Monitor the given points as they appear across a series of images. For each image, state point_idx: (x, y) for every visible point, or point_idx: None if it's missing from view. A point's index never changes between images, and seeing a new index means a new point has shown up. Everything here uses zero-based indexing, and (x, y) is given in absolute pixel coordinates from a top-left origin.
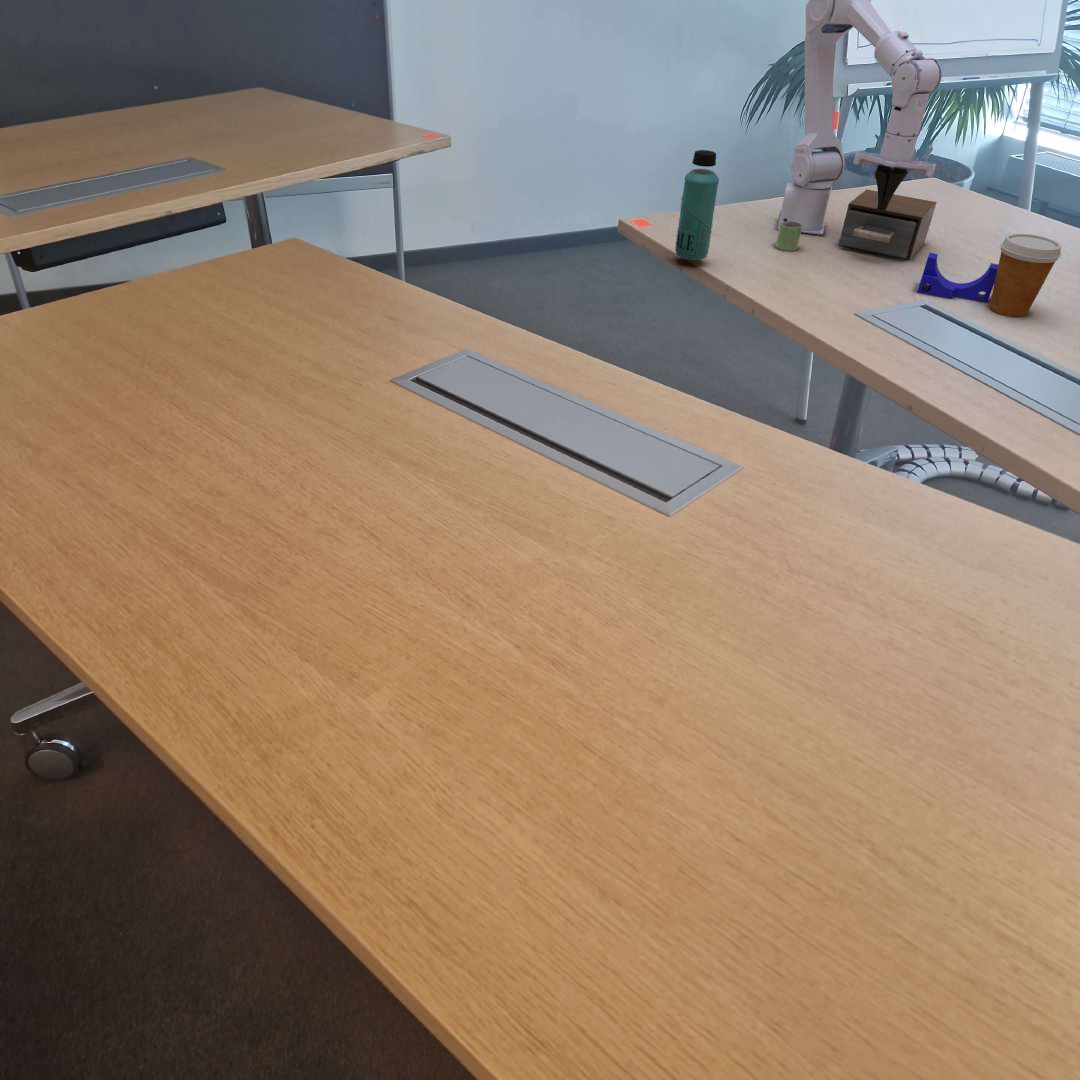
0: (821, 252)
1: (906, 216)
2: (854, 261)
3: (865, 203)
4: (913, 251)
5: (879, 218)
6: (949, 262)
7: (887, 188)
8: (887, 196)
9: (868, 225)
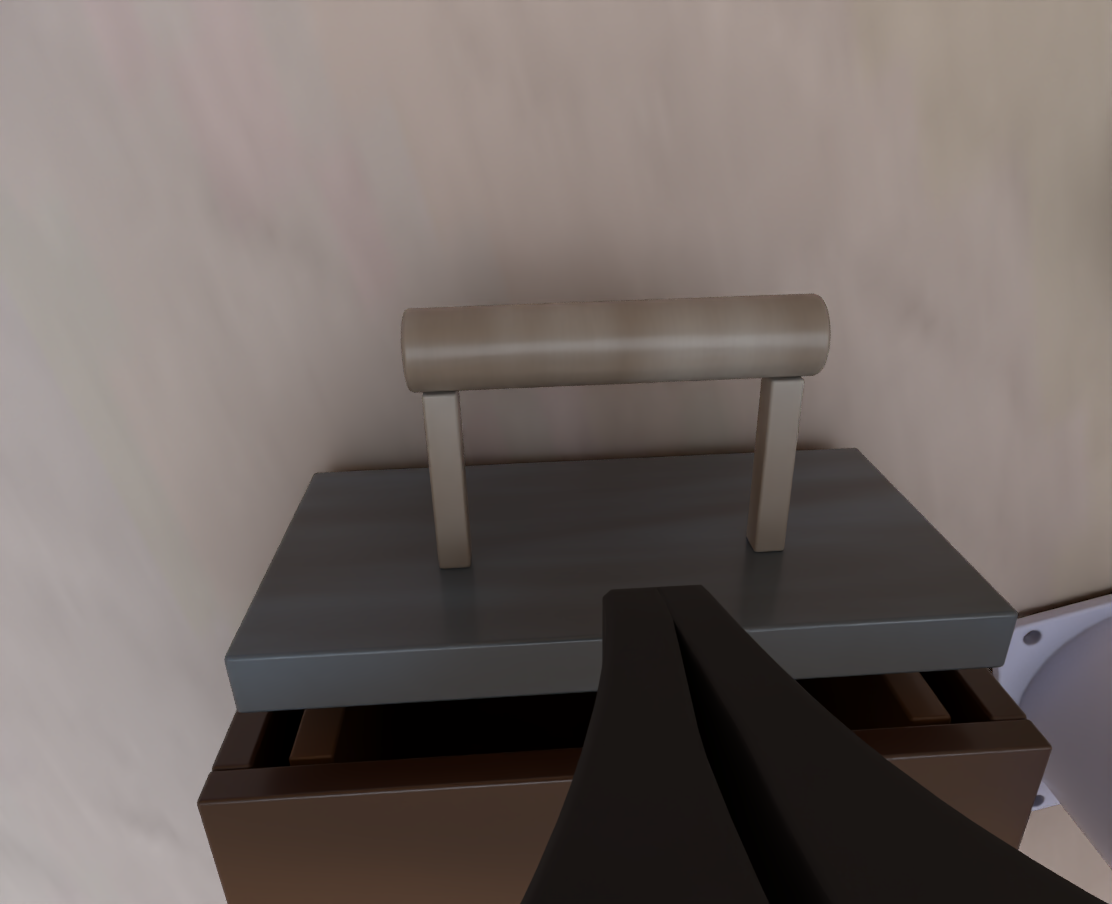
0: (958, 254)
1: (379, 770)
2: (662, 211)
3: None
4: None
5: None
6: (83, 670)
7: (713, 822)
8: (638, 711)
9: (717, 561)
